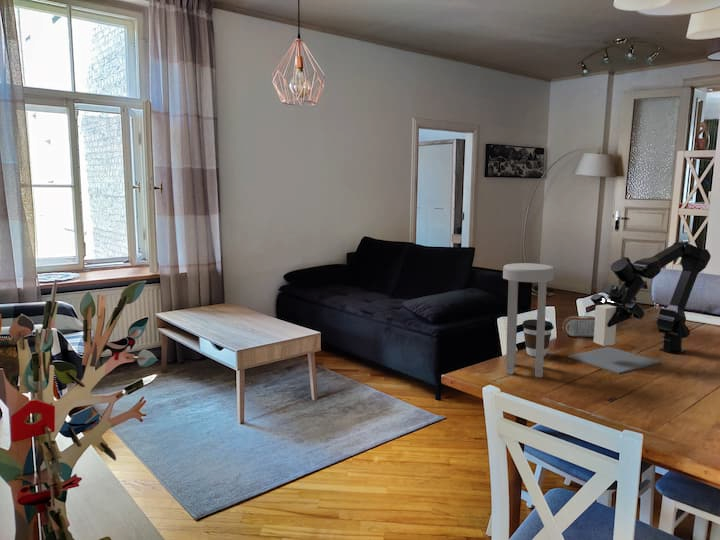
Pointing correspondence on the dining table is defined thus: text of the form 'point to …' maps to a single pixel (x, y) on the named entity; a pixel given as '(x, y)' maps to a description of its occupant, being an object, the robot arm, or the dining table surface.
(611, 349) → the mat
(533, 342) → the coffee cup
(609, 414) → the dining table surface
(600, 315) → the card box
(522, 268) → the stool
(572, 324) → the tin
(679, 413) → the dining table surface
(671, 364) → the dining table surface
